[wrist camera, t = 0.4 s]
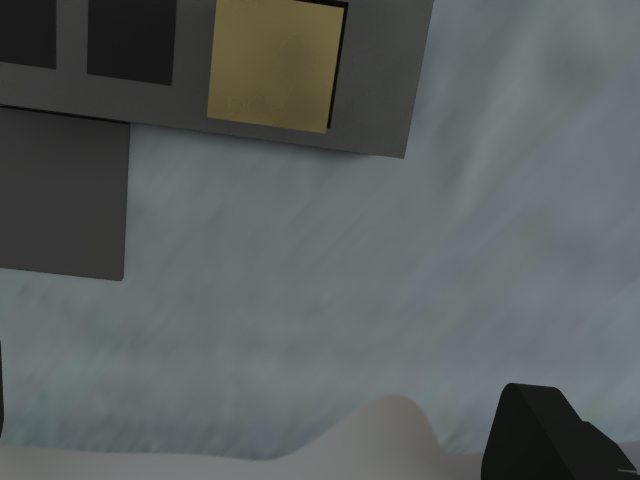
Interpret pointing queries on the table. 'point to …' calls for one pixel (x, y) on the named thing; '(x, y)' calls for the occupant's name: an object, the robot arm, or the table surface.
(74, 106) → the rail
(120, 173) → the rubber mat
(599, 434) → the robot arm
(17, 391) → the table surface
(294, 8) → the brass block
